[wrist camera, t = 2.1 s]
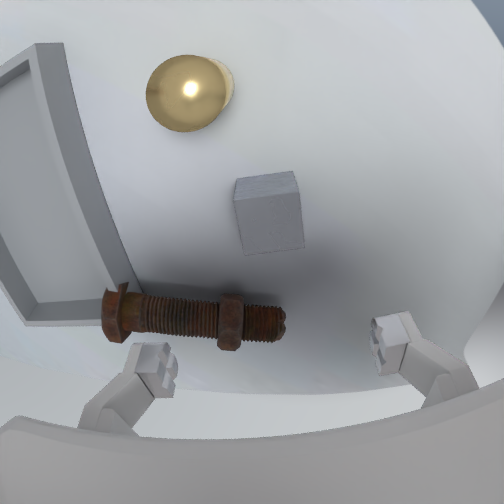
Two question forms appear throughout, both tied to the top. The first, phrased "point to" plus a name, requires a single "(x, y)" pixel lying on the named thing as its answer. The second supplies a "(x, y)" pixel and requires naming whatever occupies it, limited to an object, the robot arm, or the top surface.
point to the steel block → (269, 213)
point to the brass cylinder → (188, 92)
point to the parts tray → (52, 200)
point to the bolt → (189, 318)
